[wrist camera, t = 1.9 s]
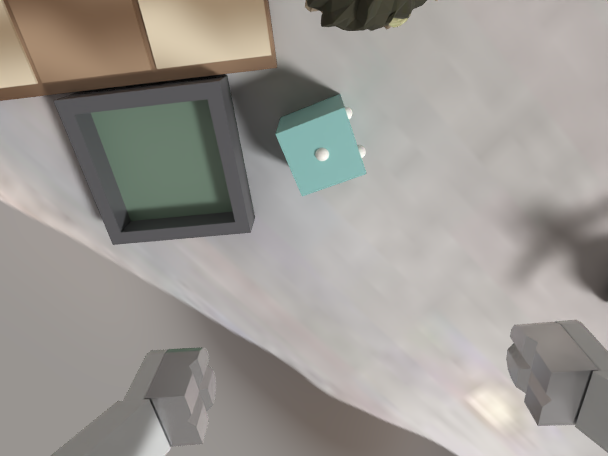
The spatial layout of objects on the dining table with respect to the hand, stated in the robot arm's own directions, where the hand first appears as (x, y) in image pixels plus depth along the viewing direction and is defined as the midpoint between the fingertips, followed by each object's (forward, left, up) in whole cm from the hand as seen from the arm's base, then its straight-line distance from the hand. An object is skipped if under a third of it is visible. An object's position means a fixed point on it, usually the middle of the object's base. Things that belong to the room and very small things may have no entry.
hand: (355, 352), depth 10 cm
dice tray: (0, -12, -21) cm, 24 cm away
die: (0, -1, -21) cm, 21 cm away
